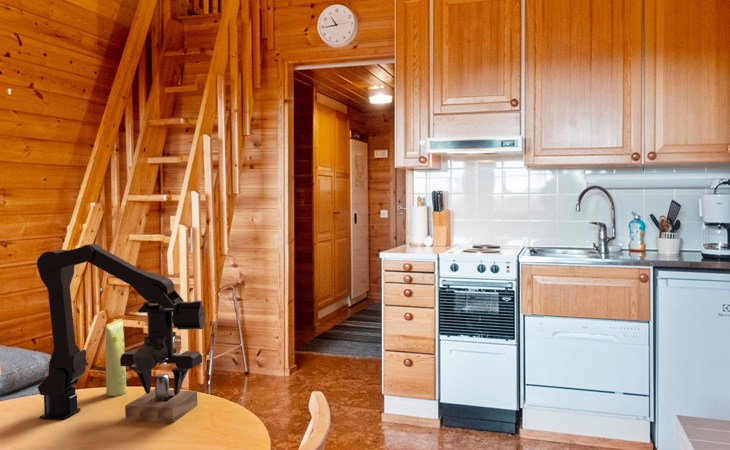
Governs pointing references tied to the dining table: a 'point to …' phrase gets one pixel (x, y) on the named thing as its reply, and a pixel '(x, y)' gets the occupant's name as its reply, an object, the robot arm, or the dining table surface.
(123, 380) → the tube
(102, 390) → the dining table surface
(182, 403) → the bore block
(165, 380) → the pin
